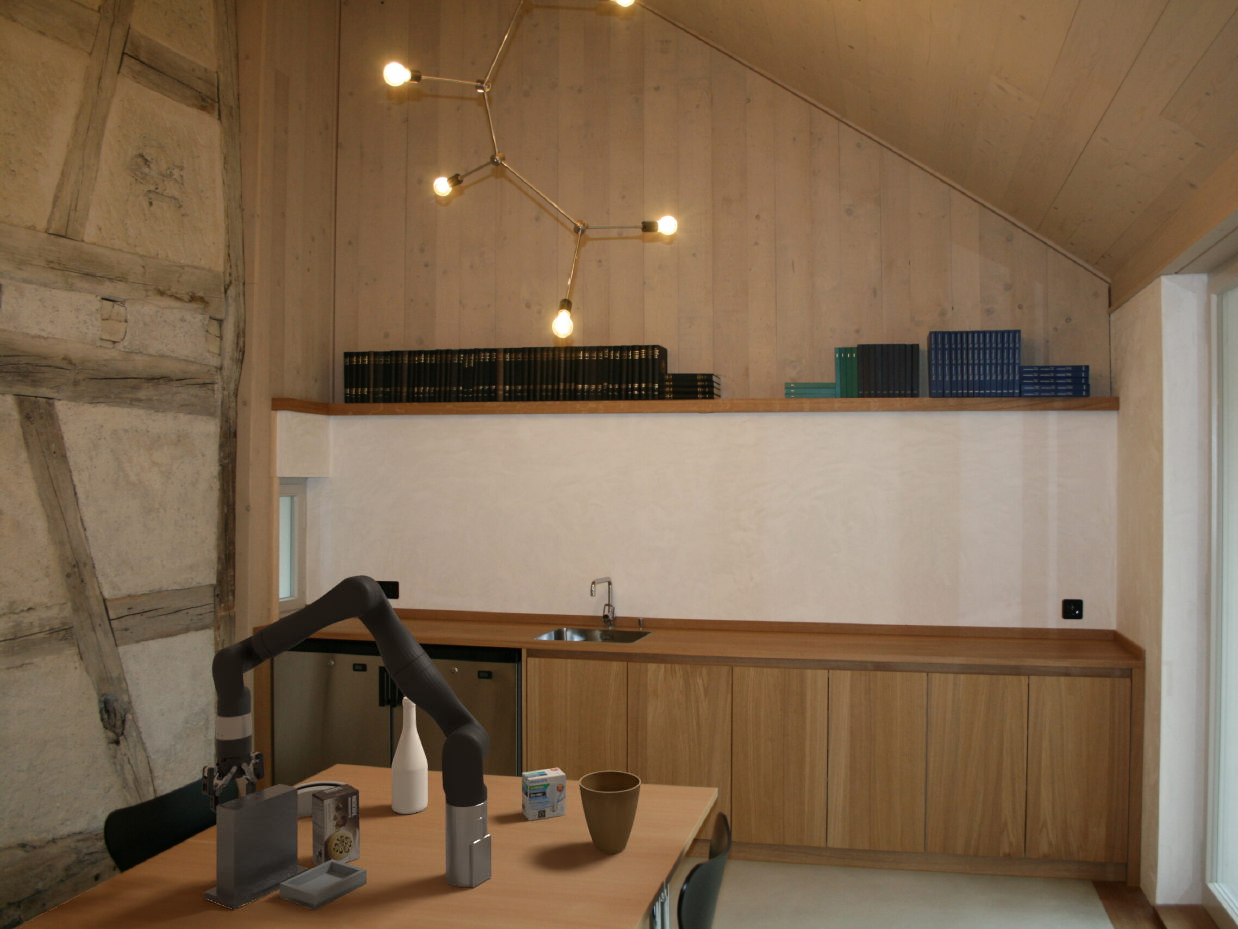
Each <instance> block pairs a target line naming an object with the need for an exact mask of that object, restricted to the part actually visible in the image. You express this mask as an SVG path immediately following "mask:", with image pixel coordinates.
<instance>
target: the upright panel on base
mask: <svg viewBox="0 0 1238 929" xmlns="http://www.w3.org/2000/svg"><path fill="white" fill-rule="evenodd" d="M298 818H299V817H298V788H295V786H291V785H287V784H283V783H278V784H275V785H273V786H270V787H267V788H264V789H261V790H258V791H256V792H255V793H252V794H249V795H246V794H245V795H244V796H240V797H238V798H235V799H232V800H229V801H227V802H224V803H221V804H220V805H217V813H216V842H215V843H216V846H215V847H216V851H215V852H216V853H215V854H216V856H215V857H216V862H215V863H216V864H215V868H216V874H215V875H216V878H215V879H216V881H215V883H216V884H215V887H212V888H209V889H207V890H206V891H204V892H203V899H204V898H206V899H209V900H212V901H213V902H216V903H219V904H221V905H224V906H226V907H229V908H232V909H236V908H238V907H239V906H241V905H243V904H246V903H248V904H250V903H249V902H251V901H252V900H255V899H257V900H259V899H261V898H263V897H266V896H267V895H266V894H268V895H270V894H271V892H272V893H274V892H277V891H278V890H280V883H282V882H284V881H286V880H288V879H290V878H293V877H295V876H297V875H299V874H301V873H303V872H306V871H308V870H310V868H309V867H306V866H302V865H299V863H298V862H299V861H298V858H299V856H298V855H299V852H298V851H299V850H298V849H299V848H298V847H299V844H298V843H299V840H298V838H299V836H298V833H299V831H298V829H299V828H298V827H299V825H298V824H299V819H298ZM273 891H274V892H273ZM269 893H270V894H269ZM265 895H266V896H265ZM262 896H263V897H262ZM260 897H261V898H260ZM258 898H259V899H258ZM255 901H256V900H255ZM213 902H212V903H213ZM216 903H215V904H216ZM251 903H252V902H251ZM221 905H220V906H221ZM246 905H247V904H246ZM226 907H225V908H226ZM229 908H228V909H229ZM238 909H239V908H238ZM236 910H237V909H236Z"/></svg>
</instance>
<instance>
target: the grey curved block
mask: <svg viewBox="0 0 1238 929" xmlns="http://www.w3.org/2000/svg"><path fill="white" fill-rule="evenodd" d="M344 784H347V783H345V782H342V781H337V780H336V781H335V780H317V781H309V782H308V781H307V782H304V783H301V784H299V785H295V786H294V787H295V788H298V818H304V817H303V816H306V817H312V816H311V815H312V793H315V792H319V791H322V790H326V789H329V788H333V787H337V786H340V785H344Z"/></svg>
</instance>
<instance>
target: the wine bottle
mask: <svg viewBox="0 0 1238 929" xmlns="http://www.w3.org/2000/svg"><path fill="white" fill-rule="evenodd" d="M401 702H402V707H403V711H402V712H403V714H402V731H401V734H400V738H399V740H398V744H397V747H396V750H395V754H394V756H393V759H392V763H391V809H392V810H393V812H394V813H396V812H397V814H400V815H409V814H410V815H411V814H417V813H420V812H422V811H424V810H425V809H426V808H427V806H428V802H429V801H428V800H429V798H428V797H429V796H428V794H429V792H428V791H429V788H428V787H429V786H428V785H429V784H428V775H429V774H428V771H429V768H428V760H427V757H426V754H425V750H424V748H423V746H422V745H423V744H422V742H421V739H420V736H419V733H418V729H417V720H416V718H417V716H416V706H417V705H415V704H414V703H413V702H411V701H410V700H409V699H408V698H407V697H406V696H404V697H403V699H402V701H401ZM416 812H417V813H416Z"/></svg>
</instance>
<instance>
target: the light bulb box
mask: <svg viewBox="0 0 1238 929" xmlns="http://www.w3.org/2000/svg"><path fill="white" fill-rule="evenodd" d="M566 804H567V775H566V773H565V772H563V771H562V770H561V769H560V768H559V767H553V768H546V769H539V770H533V771H532V770H531V771H523V772H521V813H522V814H523V815H524V817H525V818H526V819H527V821H535V820H541V819H549V818H555V817H560V816H561V817H562V816H566V815H567V813H566V811H567V810H566V809H567V806H566Z"/></svg>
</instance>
